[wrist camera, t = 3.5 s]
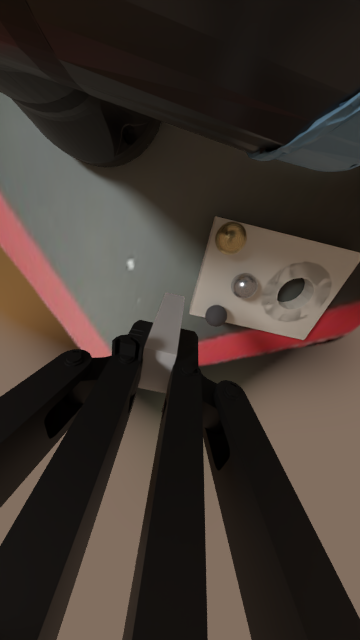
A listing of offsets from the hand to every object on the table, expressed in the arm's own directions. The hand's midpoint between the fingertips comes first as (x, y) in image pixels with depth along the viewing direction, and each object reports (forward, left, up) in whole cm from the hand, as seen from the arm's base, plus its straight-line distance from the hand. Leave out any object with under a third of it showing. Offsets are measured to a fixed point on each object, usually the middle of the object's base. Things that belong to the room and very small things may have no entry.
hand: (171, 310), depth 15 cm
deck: (+12, 0, -14) cm, 18 cm away
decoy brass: (+5, +5, -10) cm, 12 cm away
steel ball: (+8, 0, -10) cm, 13 cm away
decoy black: (+6, -5, -10) cm, 13 cm away
